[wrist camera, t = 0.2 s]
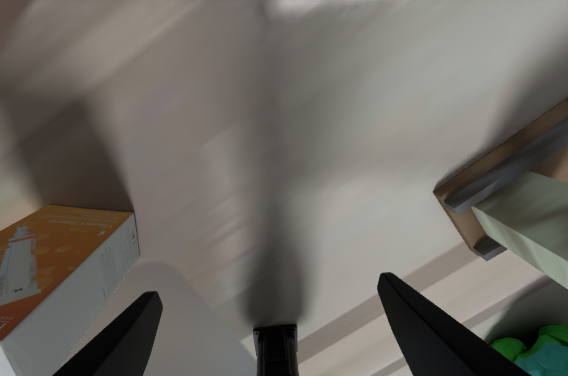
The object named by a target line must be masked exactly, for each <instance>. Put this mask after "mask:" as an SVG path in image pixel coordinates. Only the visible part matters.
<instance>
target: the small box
mask: <svg viewBox="0 0 568 376" xmlns="http://www.w3.org/2000/svg"><path fill="white" fill-rule="evenodd" d="M139 257H140V255H139V248H138V240H137V232H136V225H135V218H134V213H133V212H119V211H107V210H96V209H85V208H76V207H67V206H57V205H47V206H45V207H43V208H41V209H39V210H38V211H36V212H34V213H32V214H30V215H29V216H27V217H25V218H23V219H21V220H20V221H18V222H16V223H14V224H12V225H10V226H9V227H7V228H5V229H3V230H1V231H0V376H52V375H53V374H54V373H55V372H56V371H58V369H59V368H60V367H61V365H62V364H63V362H64V361H65V360H66V358H67V357H68V355H69V354H70V353H71V351H72V350H73V349H74V347H75V346H76V344H77V343H78V342H79V340H80V339H81V338H82V336H83V335H84V333H85V332H86V331H87V329H88V328H89V327H90V325H91V324H92V322H93V321H94V320H95V318H96V317H97V316H98V314H99V313H100V312H101V310H102V309H103V307H104V306H105V305H106V303H107V302H108V301H109V299H110V298H111V296H112V295H113V293H114V292H115V291H116V290H117V288H118V287H119V285H120V284H121V282H122V281H123V280H124V278H125V277H126V276H127V274H128V273H129V271H130V270H131V269H132V267H133V266H134V264H135V263H136V262H137V260H138V259H139Z"/></svg>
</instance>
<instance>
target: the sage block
mask: <svg viewBox="0 0 568 376" xmlns="http://www.w3.org/2000/svg"><path fill="white" fill-rule="evenodd" d="M471 208H472V210H473V212H474V213H475V215H476V217H477V219H478V220H479V222H480V224H481V226H482V227H483V229H484V231H485V233H486V234H487V235H488V236H489V237H491V238H492V239H494V240H495V241H497V242H498V243H500V244H501V245H503V246H504V247H506V248H507V249H509V250H510V251H512V252H513V253H515V254H516V255H518V256H519V257H521V258H522V259H523V260H525V261H526V262H528V263H529V264H531V265H532V266H534V267H535V268H537V269H538V270H540V271H541V272H543V273H544V274H546V275H547V276H549V277H550V278H552V279H553V280H555V281H556V282H558V283H559V284H561V285H562V286H564V287H565V288H567V289H568V183H565V182H562V181H559V180H555V179H552V178H549V177H546V176H543V175H540V174H537V173H534V172H531V171H526V172H525V173H523V174H521V175H520V176H518V177H517V178H515V179H514V180H512V181H511V182H509V183H508V184H506V185H505V186H503V187H502V188H500V189H499V190H497V191H496V192H494V193H492V194H491V195H489V196H488V197H486V198H485V199H483V200H482V201H480V202H479V203H477V204H476V205H474V206H473V207H471Z"/></svg>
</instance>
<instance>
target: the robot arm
mask: <svg viewBox="0 0 568 376" xmlns="http://www.w3.org/2000/svg"><path fill="white" fill-rule="evenodd" d="M377 290H378V294H379V296H380V299H381V302H382V305H383V307H384V310H385V313H386V316H387V318H388V321H389V324H390V326H391V329H392V331H393V334H394V336H395V338H396V340H397V342H398V344H399V347H400V349H401V351H402V353H403V355H404V357H405V359H406V361H407V363H408V366H409V368H410V370H411V372H412V374H413V376H532V375H531V374H529V373H528V372H526V371H525V370H523V369H522V368H521V367H519V366H518V365H516V364H515V363H514V362H512V361H511V360H509V359H508V358H507V357H505V356H504V355H503V354H501V353H500V352H498V351H497V350H496V349H494V348H493V347H492V346H489V344H488V343H486V342H485V341H484V340H482V339H481V338H479V337H478V336H477V335H475V334H474V333H473V332H471V331H470V330H469V329H467V328H466V327H465V326H463V325H462V324H461V323H459V322H458V321H456V320H455V319H454V318H452V317H451V316H450V315H448V314H447V313H446V312H444V311H443V310H442V309H440V308H439V307H438V306H436V305H435V304H434V303H432V302H431V301H429V300H428V299H427V298H425V297H424V296H423V295H421V294H420V293H419V292H417V291H416V290H415V289H413V288H412V287H411V286H409V285H408V284H406V283H405V282H404V281H402V280H401V279H400V278H398V277H397V276H396V275H394V274H393V273H391V272H386V273H381V274H380V277H379V281H378V285H377ZM162 310H163V306H162V302H161V299H160V297H159V294H158V292H156V291H148V292H145V293H143V294H142V295H141V296H140V297H139V298H138V299H137V300H135V301H134V302H133V303H132V304H131V305H130V306H129V307H128V308H126V309H125V310H124V311H123V312H122V313H121V314H120V315H119V316H118V317H116V318H115V319H114V320H113V321H112V322H111V323H110V324H109V325H108V326H106V327H105V328H104V329H103V330H102V331H101V332H100V333H99V334H98V335H96V336H95V337H94V338H93V339H92V340H91V341H90V342H89V343H88V344H86V345H85V346H84V347H83V348H82V349H81V350H80V351H79V352H78V353H77V354H75V355H74V356H73V357H72V358H71V359H70V360H69V361H68V362H67V363H66V364H64V365H63V366H62V367H61V368H60V369H59V370H58V371H56V372H55V373H54V374H53V375H52V376H143V373H144V371H145V368H146V366H147V363H148V360H149V357H150V354H151V350H152V347H153V344H154V340H155V336H156V333H157V329H158V325H159V321H160V318H161V314H162ZM253 337H254V343H255V350H256V356H257V376H299V372H298V363H297V355H296V352H297V326H296V325H286V326H277V327H267V328H258V329H254V330H253Z"/></svg>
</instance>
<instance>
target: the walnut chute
mask: <svg viewBox="0 0 568 376" xmlns="http://www.w3.org/2000/svg"><path fill="white" fill-rule="evenodd" d="M526 171H531V172H534V173H537V174H540V175H543V176H546V177H549V178H552V179H555V180H559V181H562V182H565V183H568V98H567V99H565V100H564V101H563V102H561V103H560V104H558V105H557V106H555V107H554V108H553V109H551V110H550V111H548V112H547V113H545V114H544V115H543V116H541V117H540V118H538V119H537V120H535V121H534V122H533V123H531V124H530V125H528V126H527V127H525V128H524V129H523V130H521V131H520V132H518V133H517V134H515V135H514V136H513V137H511V138H510V139H508V140H507V141H506V142H504V143H503V144H501V145H500V146H498V147H497V148H496V149H494V150H493V151H491V152H490V153H488V154H487V155H486V156H484V157H483V158H481V159H480V160H478V161H477V162H476V163H474V164H473V165H471V166H470V167H468V168H467V169H466V170H464V171H463V172H461V173H460V174H458V175H457V176H456V177H454V178H453V179H451V180H450V181H448V182H447V183H446V184H444V185H443V186H441V187H440V188H438V189H437V190H436V191H434V192H433V193H434V195H435V196H436V198H437V199H438V201H439V203H440V204H441V206H442V207H443V209H444V210H445V212H446V213H447V215H448V216H449V218H450V219H451V221H452V222H453V224H454V226H455V227H456V229H457V230H458V232H459V233H460V235H461V236H462V238H463V239H464V241H465V242H466V244H467V245H468V247H469V249H470V250H471V251H472V252H474V253H475V254H476V255H477V256H479V255H480V256H481V257H482V258H483V259H485V260H486V261H488V260H490V259H492V258H493V257H495V256H497V255H498V254H500V253H502V252H504V251H505V250H507V248H506V247H504V246H503V245H501V244H500V243H498V242H497V241H495V240H494V239H492V238H491V237H489V236H488V235H487V234H486V233H485V231H484V229H483V227H482V226H481V224H480V222H479V220H478V219H477V217H476V215H475V213H474V212H473V210H472V208H471V207H473V206H474V205H476V204H477V203H479V202H480V201H482V200H483V199H485V198H486V197H488V196H489V195H491V194H492V193H494V192H496V191H497V190H499V189H500V188H502V187H503V186H505V185H506V184H508V183H509V182H511V181H512V180H514V179H515V178H517V177H518V176H520V175H521V174H523V173H525V172H526Z"/></svg>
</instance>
